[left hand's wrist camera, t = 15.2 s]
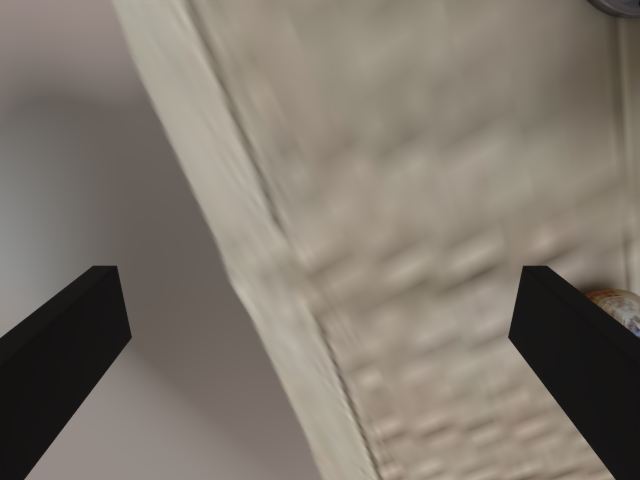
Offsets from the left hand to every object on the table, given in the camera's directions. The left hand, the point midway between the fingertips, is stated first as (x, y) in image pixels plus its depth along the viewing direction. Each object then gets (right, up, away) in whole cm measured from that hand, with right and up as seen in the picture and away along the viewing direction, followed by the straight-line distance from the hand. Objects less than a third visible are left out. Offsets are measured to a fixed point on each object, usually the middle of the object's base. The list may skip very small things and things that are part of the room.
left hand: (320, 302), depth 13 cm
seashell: (+34, -6, +38) cm, 52 cm away
